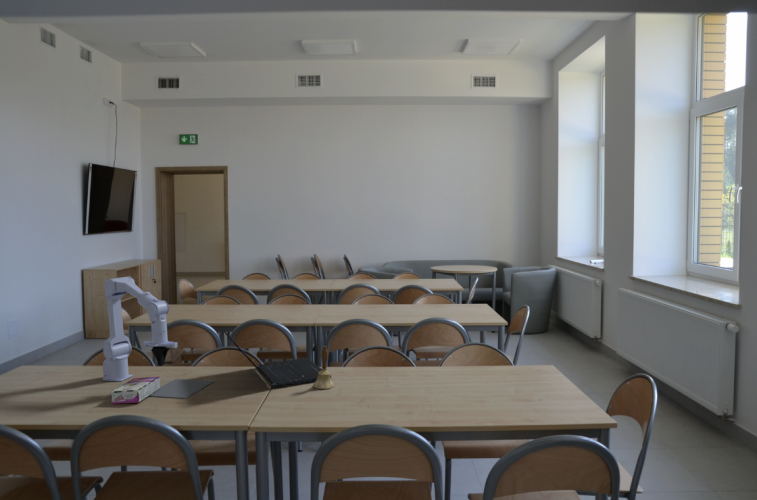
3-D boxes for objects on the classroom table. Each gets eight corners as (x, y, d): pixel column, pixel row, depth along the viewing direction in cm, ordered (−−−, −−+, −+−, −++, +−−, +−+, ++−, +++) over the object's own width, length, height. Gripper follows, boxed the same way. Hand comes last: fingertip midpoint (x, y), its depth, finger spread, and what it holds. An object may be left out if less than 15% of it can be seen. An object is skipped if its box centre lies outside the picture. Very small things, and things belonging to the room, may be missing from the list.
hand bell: (338, 386, 212) (339, 346, 211) (320, 390, 207) (321, 349, 206) (326, 381, 218) (327, 342, 217) (309, 384, 213) (310, 345, 212)
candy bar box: (135, 390, 216) (110, 404, 199) (134, 377, 215) (109, 391, 199) (161, 388, 214) (139, 402, 198) (160, 376, 214) (137, 389, 198)
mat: (144, 396, 207) (144, 395, 207) (175, 379, 226) (175, 378, 226) (185, 398, 203) (185, 397, 203) (214, 381, 222) (214, 380, 222)
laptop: (332, 380, 221) (330, 334, 219) (239, 396, 205) (236, 346, 204) (307, 360, 251) (306, 319, 249) (225, 373, 235) (222, 329, 234)
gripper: (137, 333, 213) (139, 367, 214) (169, 334, 209) (171, 368, 210) (148, 329, 219) (150, 362, 220) (180, 330, 216) (181, 363, 217)
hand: (161, 364), depth 216 cm, fingers closed
